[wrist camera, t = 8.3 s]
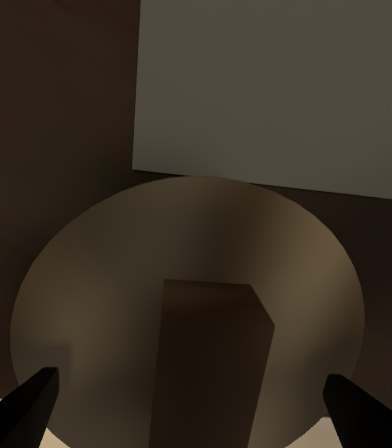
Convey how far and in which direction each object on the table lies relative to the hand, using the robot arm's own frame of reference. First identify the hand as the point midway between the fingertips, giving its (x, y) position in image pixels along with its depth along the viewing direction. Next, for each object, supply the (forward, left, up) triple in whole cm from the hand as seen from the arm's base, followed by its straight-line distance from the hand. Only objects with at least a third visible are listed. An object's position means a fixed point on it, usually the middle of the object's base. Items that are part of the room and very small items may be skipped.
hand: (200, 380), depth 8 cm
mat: (-5, -15, -10) cm, 19 cm away
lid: (0, 0, -2) cm, 2 cm away
